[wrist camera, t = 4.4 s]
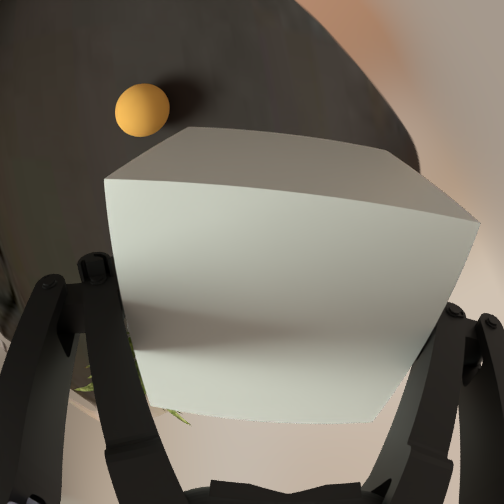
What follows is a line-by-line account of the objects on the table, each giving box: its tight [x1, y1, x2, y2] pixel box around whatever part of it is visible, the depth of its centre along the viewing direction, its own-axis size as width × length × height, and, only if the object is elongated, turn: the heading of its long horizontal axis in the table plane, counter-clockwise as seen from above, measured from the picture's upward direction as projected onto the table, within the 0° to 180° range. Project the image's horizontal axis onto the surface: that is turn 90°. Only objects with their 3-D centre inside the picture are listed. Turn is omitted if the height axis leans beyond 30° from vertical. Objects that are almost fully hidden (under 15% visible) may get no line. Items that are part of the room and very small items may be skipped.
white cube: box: [104, 127, 480, 424], centre depth 13 cm, size 10×10×9 cm
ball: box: [115, 84, 170, 137], centre depth 25 cm, size 5×5×5 cm
